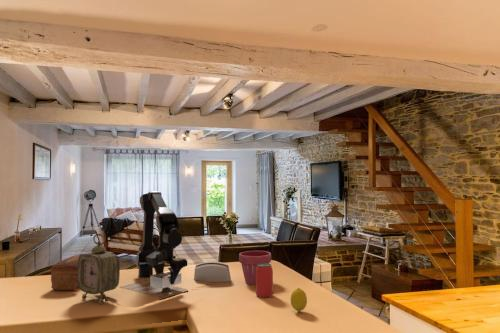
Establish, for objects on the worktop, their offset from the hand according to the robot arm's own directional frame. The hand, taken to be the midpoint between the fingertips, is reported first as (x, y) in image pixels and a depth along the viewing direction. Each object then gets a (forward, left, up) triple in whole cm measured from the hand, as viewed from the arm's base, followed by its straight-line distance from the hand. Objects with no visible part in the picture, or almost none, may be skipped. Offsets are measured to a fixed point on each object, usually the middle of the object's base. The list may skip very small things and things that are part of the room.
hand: (166, 282), depth 150 cm
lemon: (+54, +11, -4) cm, 55 cm away
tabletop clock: (-15, -20, -4) cm, 25 cm away
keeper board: (-8, 0, -4) cm, 9 cm away
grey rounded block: (+2, +25, -5) cm, 26 cm away
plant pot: (+19, +35, -4) cm, 40 cm away
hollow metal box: (0, 0, -1) cm, 1 cm away
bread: (-45, -11, -5) cm, 46 cm away
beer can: (+34, +20, -4) cm, 40 cm away
